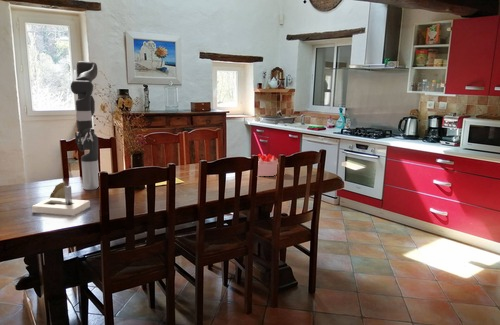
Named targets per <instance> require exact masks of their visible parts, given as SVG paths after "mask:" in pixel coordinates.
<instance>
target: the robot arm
mask: <svg viewBox="0 0 500 325" xmlns="http://www.w3.org/2000/svg"><path fill="white" fill-rule="evenodd" d="M96 77H98V65H97V63H96V62H94V61H83V60H79V61H77V63H76V78H75V79H73V80H72V81H71V83H70V90H71V93H73V94H74V95H77V99H76V101H75V112H76V113H75V114H76V115H75V118H76V128H77V131H75V132H74V134H75V135H74V136H75V137H74V138H75V140H74V141H75V144H77V147H78V150H79V152H84V151H85V150H89V151H88V152H87V153H85V154H83V155H81V157H80V158H81V159H80V162H81V172H82V173H81V174H82V189H83V190H87V191H91V190H97V188H98V173H99V174H100V171H99V170H100V169H99V137H98V136H97V134H95V129H94V128H93V117H94V115H95V111H96V105H95V102H96V101H95V99H94V96H93V95H92V94H93V91H94V85H93V83H92V82H93V81H94V80H95V79H96ZM98 189H99V188H98Z"/></svg>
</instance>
